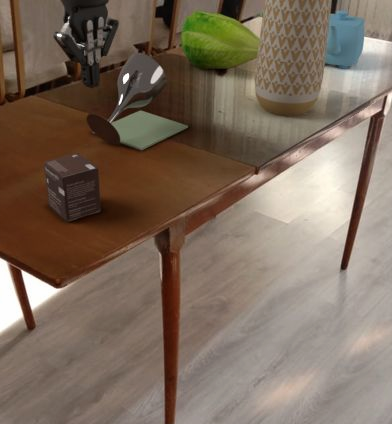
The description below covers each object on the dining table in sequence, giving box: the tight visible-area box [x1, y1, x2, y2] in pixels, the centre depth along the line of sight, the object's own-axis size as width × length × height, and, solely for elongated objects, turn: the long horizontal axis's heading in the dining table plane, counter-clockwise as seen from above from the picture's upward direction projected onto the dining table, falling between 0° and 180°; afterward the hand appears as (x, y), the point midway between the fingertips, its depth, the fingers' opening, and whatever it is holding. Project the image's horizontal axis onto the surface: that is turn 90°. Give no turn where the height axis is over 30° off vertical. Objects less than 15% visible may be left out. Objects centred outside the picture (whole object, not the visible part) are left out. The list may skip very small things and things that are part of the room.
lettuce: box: [180, 9, 260, 70], centre depth 145 cm, size 14×20×12 cm
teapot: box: [325, 9, 365, 69], centre depth 151 cm, size 12×18×12 cm
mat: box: [92, 110, 189, 151], centre depth 120 cm, size 14×12×1 cm
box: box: [42, 152, 102, 223], centre depth 94 cm, size 6×6×7 cm
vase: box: [254, 0, 333, 117], centre depth 122 cm, size 14×14×31 cm
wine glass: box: [86, 52, 167, 146], centre depth 114 cm, size 8×8×15 cm
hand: (91, 86), depth 105 cm, fingers closed
